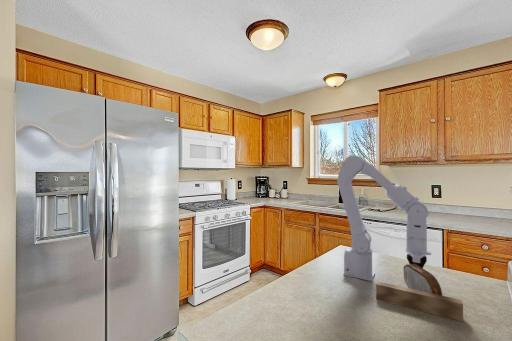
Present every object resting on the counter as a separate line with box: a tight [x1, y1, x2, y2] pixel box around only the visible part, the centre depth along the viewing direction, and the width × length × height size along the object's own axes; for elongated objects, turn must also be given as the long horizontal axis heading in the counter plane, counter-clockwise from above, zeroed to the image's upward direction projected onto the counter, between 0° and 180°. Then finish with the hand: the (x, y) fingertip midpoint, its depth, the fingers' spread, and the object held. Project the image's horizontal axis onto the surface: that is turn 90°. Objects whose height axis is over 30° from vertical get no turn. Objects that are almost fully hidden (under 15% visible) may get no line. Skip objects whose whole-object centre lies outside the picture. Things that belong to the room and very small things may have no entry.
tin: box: [403, 263, 443, 296], centre depth 75 cm, size 15×3×8 cm, turn 178°
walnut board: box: [375, 280, 464, 323], centre depth 69 cm, size 20×2×4 cm, turn 56°
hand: (416, 277), depth 83 cm, fingers closed
